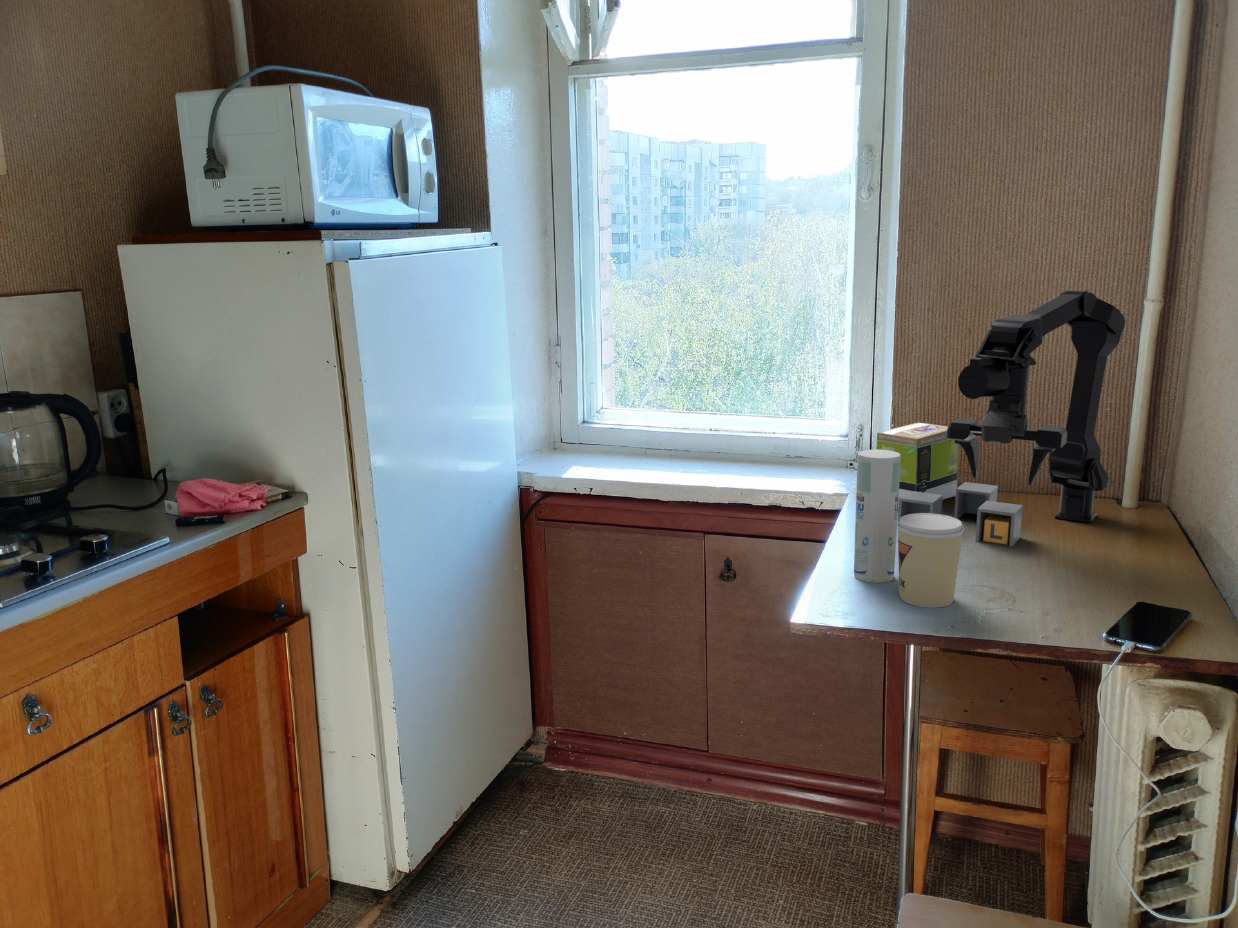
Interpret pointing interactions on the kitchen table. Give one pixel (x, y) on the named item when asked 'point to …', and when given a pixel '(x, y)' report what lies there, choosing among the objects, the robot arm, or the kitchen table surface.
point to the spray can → (876, 515)
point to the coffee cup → (928, 558)
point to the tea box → (923, 458)
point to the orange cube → (997, 529)
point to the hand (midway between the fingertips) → (1002, 481)
